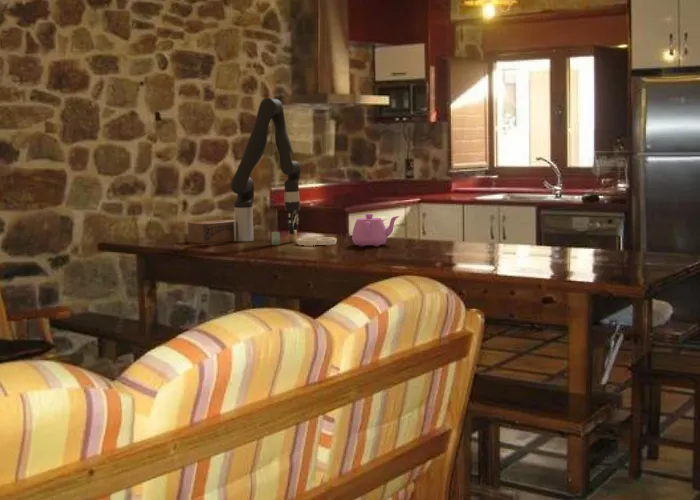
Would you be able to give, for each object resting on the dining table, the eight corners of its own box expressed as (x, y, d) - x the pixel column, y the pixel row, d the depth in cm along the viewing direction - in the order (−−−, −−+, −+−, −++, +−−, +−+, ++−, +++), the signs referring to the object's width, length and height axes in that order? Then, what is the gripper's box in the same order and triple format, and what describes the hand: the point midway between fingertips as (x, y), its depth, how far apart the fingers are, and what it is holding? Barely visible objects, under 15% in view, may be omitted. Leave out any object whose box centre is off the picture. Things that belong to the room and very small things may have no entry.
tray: (293, 245, 451) (292, 240, 451) (302, 241, 470) (302, 236, 470) (331, 245, 448) (331, 240, 447) (339, 241, 466) (339, 236, 466)
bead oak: (287, 242, 468) (287, 230, 467) (289, 241, 471) (289, 229, 471) (295, 242, 467) (295, 230, 466) (297, 241, 471) (297, 229, 470)
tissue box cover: (203, 244, 471) (202, 224, 470) (188, 242, 482) (188, 222, 481) (246, 240, 488) (245, 220, 486) (231, 238, 499) (230, 219, 497)
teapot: (349, 248, 436) (349, 216, 435) (354, 243, 457) (353, 212, 455) (398, 248, 434) (398, 215, 432) (400, 243, 455) (400, 212, 453)
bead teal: (271, 244, 459) (270, 232, 458) (273, 243, 463) (272, 231, 462) (278, 244, 458) (278, 232, 458) (281, 243, 462) (280, 231, 461)
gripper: (288, 200, 475) (289, 232, 476) (281, 201, 461) (282, 234, 462) (302, 199, 473) (304, 231, 475) (296, 201, 459) (297, 234, 461)
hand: (293, 233), depth 469 cm, fingers open, 8 cm apart
